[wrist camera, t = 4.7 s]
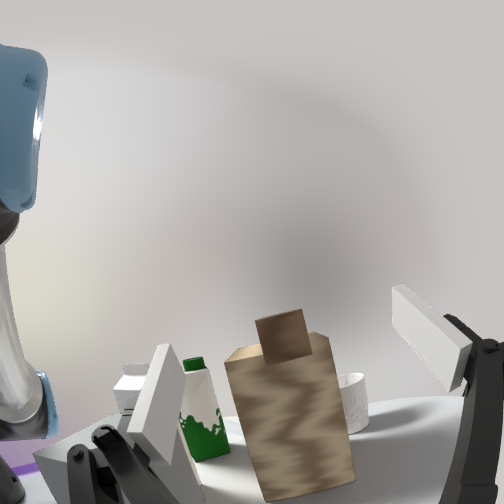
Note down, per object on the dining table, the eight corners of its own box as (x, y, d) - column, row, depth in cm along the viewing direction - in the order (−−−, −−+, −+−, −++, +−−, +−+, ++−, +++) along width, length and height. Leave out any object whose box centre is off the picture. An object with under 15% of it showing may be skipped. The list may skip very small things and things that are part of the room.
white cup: (366, 434, 37) (358, 385, 40) (324, 437, 41) (314, 391, 44) (375, 414, 44) (368, 370, 46) (339, 419, 48) (330, 376, 50)
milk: (181, 502, 27) (133, 367, 32) (151, 494, 29) (106, 368, 33) (202, 483, 32) (162, 359, 37) (173, 478, 34) (134, 361, 39)
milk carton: (236, 452, 43) (209, 357, 48) (191, 465, 39) (160, 367, 44) (223, 439, 51) (199, 355, 55) (183, 449, 47) (157, 363, 51)
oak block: (265, 501, 25) (223, 362, 30) (267, 457, 39) (238, 348, 44) (355, 480, 25) (328, 337, 30) (335, 441, 39) (311, 330, 44)
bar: (265, 366, 22) (254, 320, 23) (268, 342, 42) (262, 317, 43) (312, 354, 22) (301, 308, 23) (294, 336, 42) (288, 311, 43)
